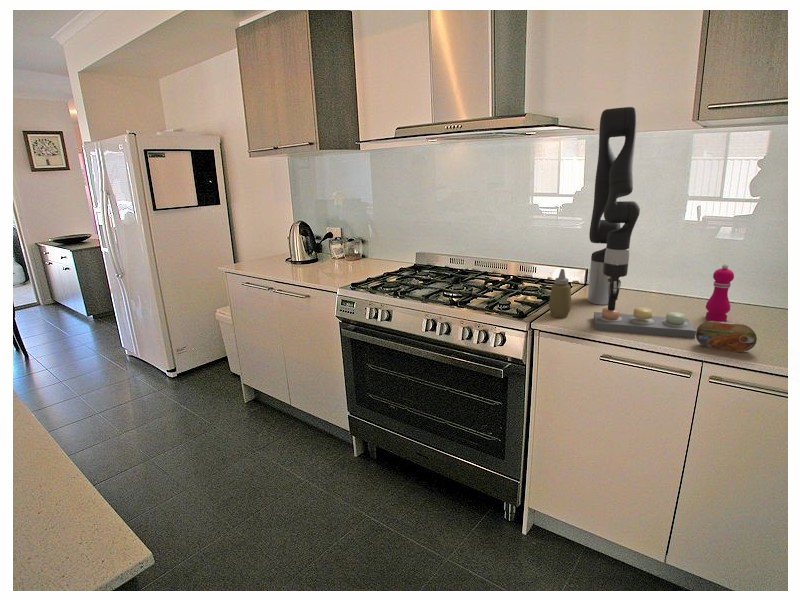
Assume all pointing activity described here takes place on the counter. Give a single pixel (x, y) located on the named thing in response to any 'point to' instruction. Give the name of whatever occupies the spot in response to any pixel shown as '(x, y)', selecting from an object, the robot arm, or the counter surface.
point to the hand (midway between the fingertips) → (611, 309)
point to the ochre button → (642, 313)
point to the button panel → (644, 325)
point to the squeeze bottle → (560, 297)
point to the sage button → (675, 318)
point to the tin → (726, 336)
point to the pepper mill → (720, 295)
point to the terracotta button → (610, 313)
